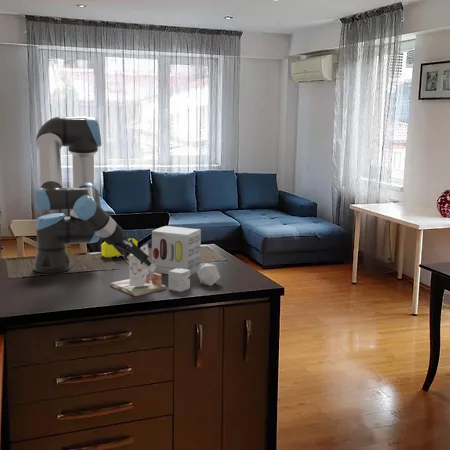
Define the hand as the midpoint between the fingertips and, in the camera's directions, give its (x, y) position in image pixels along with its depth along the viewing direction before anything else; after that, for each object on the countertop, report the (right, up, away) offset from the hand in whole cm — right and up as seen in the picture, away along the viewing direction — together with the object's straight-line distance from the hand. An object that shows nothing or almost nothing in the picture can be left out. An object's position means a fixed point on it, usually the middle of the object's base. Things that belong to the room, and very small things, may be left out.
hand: (146, 267), depth 221 cm
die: (+23, -8, +10) cm, 26 cm away
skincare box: (+12, -9, +3) cm, 15 cm away
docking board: (-4, -8, +4) cm, 10 cm away
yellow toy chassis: (-20, +1, +54) cm, 58 cm away
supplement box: (+9, -4, +28) cm, 30 cm away
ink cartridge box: (-3, -6, -1) cm, 7 cm away
